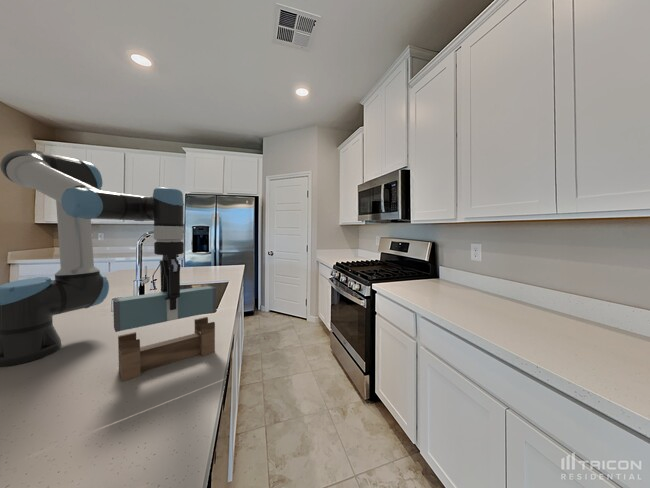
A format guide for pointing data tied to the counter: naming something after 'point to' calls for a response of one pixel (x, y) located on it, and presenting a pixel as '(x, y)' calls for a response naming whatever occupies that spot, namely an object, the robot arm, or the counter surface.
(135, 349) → the wooden slotted stand
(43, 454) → the counter surface
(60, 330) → the counter surface
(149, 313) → the rail
